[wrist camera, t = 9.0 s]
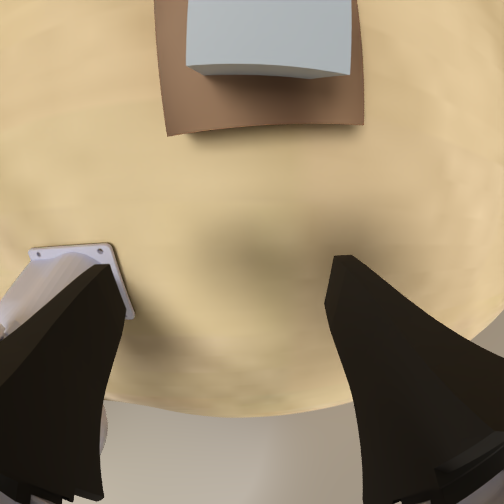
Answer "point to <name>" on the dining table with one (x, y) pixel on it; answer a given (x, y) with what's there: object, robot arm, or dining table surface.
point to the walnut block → (248, 86)
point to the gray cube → (269, 37)
